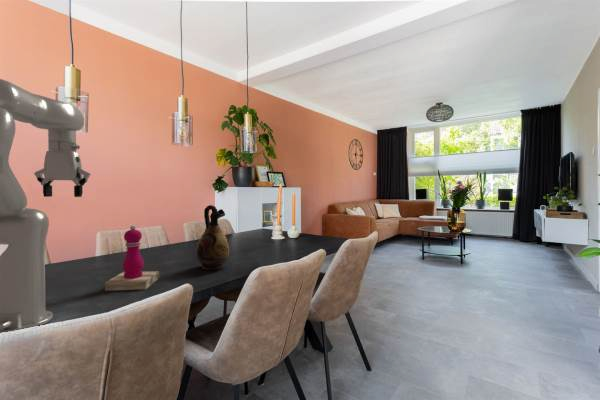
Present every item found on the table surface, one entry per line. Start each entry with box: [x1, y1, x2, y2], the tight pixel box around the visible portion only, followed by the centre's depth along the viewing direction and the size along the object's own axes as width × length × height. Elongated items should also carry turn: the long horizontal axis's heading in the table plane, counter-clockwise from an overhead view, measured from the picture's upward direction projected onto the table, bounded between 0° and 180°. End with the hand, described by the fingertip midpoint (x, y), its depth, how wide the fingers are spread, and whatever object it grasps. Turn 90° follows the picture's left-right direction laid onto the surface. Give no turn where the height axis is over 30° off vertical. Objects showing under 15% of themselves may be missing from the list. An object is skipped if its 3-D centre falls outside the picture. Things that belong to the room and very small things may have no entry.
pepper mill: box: [122, 225, 145, 279], centre depth 113 cm, size 7×7×20 cm
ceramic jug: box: [195, 204, 230, 271], centre depth 139 cm, size 17×15×30 cm
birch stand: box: [104, 270, 160, 292], centre depth 114 cm, size 14×14×3 cm
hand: (63, 196), depth 102 cm, fingers open, 9 cm apart
